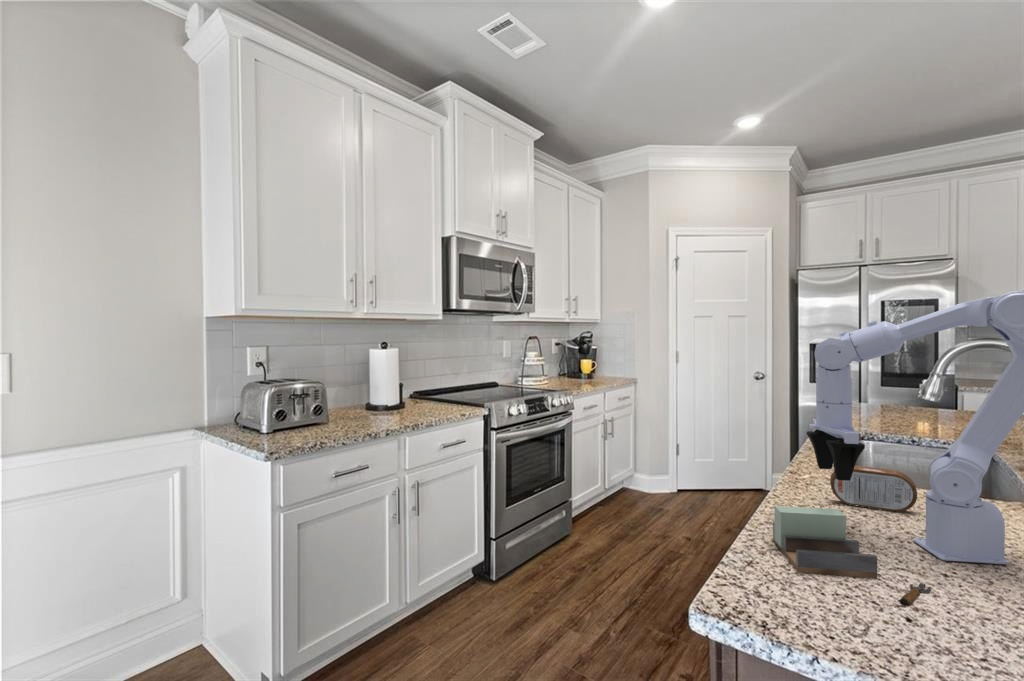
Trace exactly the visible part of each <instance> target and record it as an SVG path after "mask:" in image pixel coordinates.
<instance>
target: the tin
mask: <svg viewBox="0 0 1024 681" xmlns="http://www.w3.org/2000/svg"><path fill="white" fill-rule="evenodd" d="M829 483H830V488H831V491H832V493H833V495H835V497H836V498H837V499H838V500H839V501H841V502H843V503H844V504H846V505H848V504H851V505H850V506H852V505H858V506H857V507H859V506H864V507H863V508H865V507H870V508H869V509H872V508H875V509H874V510H878V509H881V510H880V511H885V510H888V511H887V512H891V511H896V512H895V513H902V512H906V511H908V510H910V509H911V508H912V507H914V506H915V504H916V503H917V501H918V491H917V486H916V484H915V482H914V480H912V479H911V478H910V477H909V476H908V475H907V474H905V473H904V472H901V471H899V470H894V469H887V468H879V467H871V466H864V465H863V466H862V465H861V466H860V465H856V464H855V467H854V470H853V473H852V477H851V480H850V481H846V480H837V479H836V476H835V472H834V471H832V473H831V476H830V480H829Z"/></svg>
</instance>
